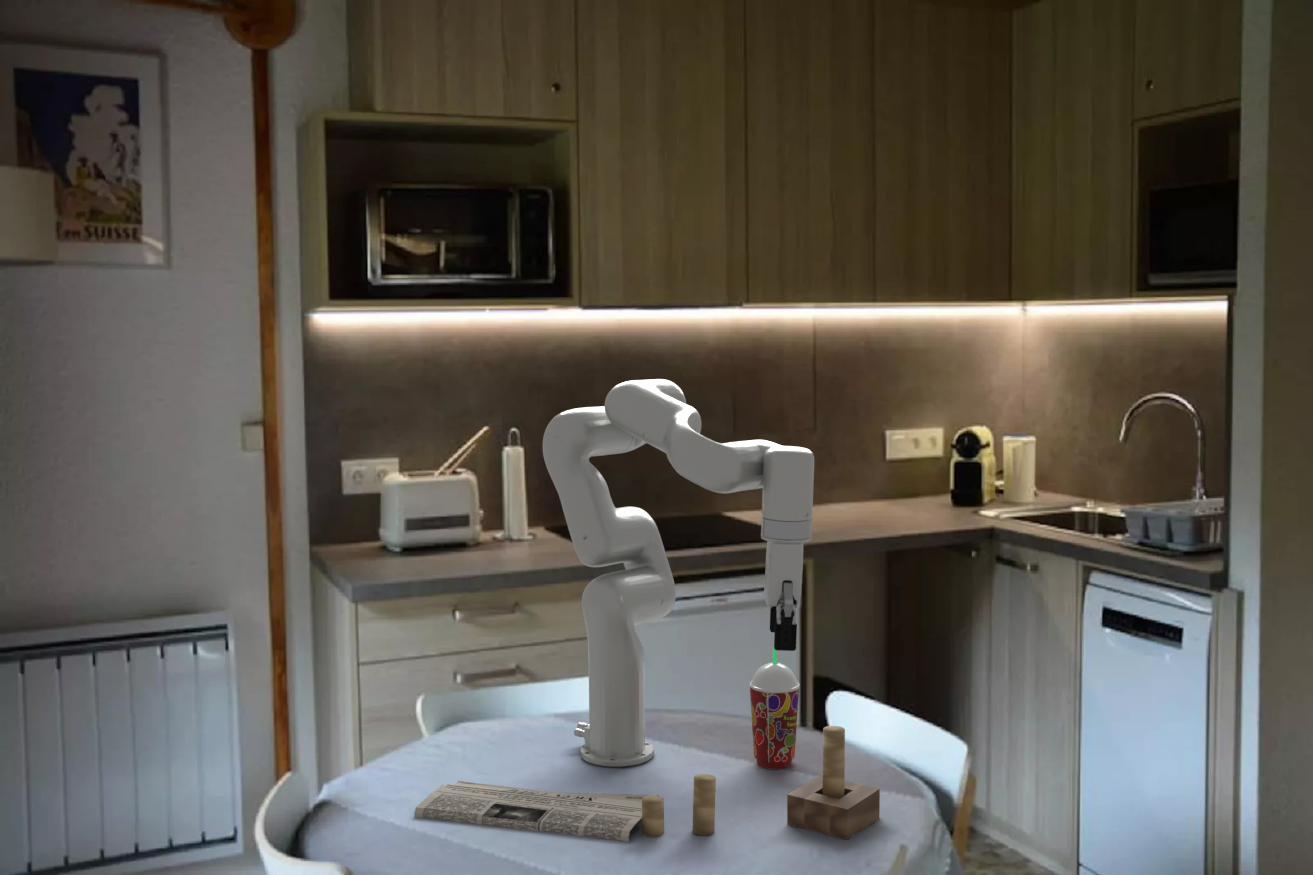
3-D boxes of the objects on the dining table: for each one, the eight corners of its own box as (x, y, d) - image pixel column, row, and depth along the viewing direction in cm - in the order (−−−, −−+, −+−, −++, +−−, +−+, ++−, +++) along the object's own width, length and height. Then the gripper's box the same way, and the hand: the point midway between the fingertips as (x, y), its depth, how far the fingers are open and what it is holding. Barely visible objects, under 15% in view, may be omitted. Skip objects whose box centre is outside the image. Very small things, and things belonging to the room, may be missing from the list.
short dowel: (637, 833, 189) (637, 800, 189) (651, 826, 192) (651, 793, 191) (654, 838, 187) (654, 805, 187) (668, 831, 190) (668, 798, 189)
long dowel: (818, 822, 193) (819, 730, 192) (829, 815, 196) (829, 724, 194) (837, 826, 191) (838, 734, 190) (848, 820, 194) (848, 728, 192)
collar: (787, 824, 192) (787, 794, 192) (820, 803, 200) (820, 775, 200) (847, 839, 186) (847, 809, 186) (879, 818, 194) (879, 788, 194)
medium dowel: (688, 832, 189) (689, 778, 189) (699, 825, 192) (700, 772, 191) (707, 837, 188) (709, 783, 187) (718, 830, 190) (719, 776, 190)
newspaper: (414, 820, 196) (413, 797, 196) (450, 791, 208) (450, 769, 207) (637, 846, 186) (637, 822, 186) (662, 813, 198) (662, 791, 197)
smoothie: (796, 774, 213) (797, 654, 211) (746, 770, 215) (746, 652, 213) (801, 757, 221) (802, 641, 219) (752, 754, 223) (752, 639, 221)
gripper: (758, 518, 203) (754, 625, 205) (764, 540, 186) (760, 656, 188) (806, 519, 203) (802, 626, 205) (817, 541, 185) (813, 658, 188)
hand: (782, 640), depth 196 cm, fingers open, 9 cm apart
